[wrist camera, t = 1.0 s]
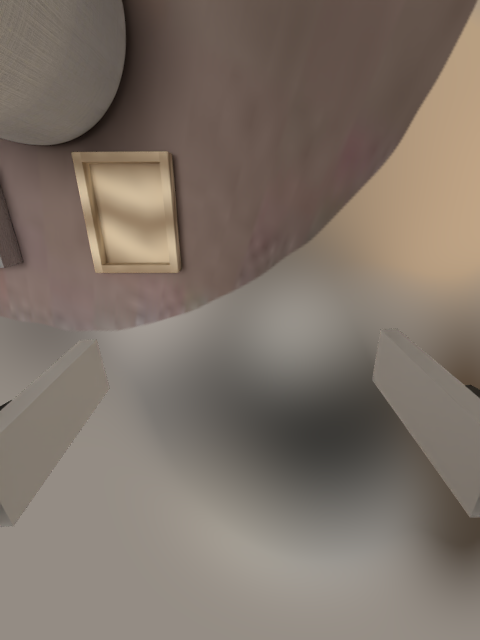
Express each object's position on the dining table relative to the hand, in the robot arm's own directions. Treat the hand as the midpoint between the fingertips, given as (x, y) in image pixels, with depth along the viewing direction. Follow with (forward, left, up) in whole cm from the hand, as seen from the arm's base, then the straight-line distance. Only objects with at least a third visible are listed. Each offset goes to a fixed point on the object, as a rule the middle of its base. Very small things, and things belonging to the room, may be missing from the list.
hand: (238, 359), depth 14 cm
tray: (-5, -14, -28) cm, 32 cm away
